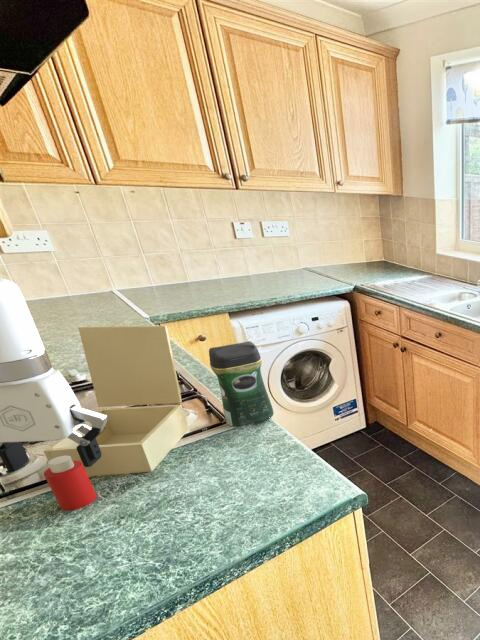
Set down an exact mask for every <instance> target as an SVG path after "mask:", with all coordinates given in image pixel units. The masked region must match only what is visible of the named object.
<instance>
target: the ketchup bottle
mask: <svg viewBox="0 0 480 640" xmlns="http://www.w3.org/2000/svg"><path fill="white" fill-rule="evenodd" d="M47 465H48V468H47V469H46V470H45V471H43V477H44V479H45V480H46V482H47V484H48V486H49V488H50V490H51V492H52V494H53V496H54V497H55V500H56V502H57V504H58V506H59V508H60V509H61V510H62V511H64V512H65V511H66V512H67V511H76V510H78V509H82V508H84V507H87V506H89V505H90V504H92V503H93V502H94V501H95V500H96V499H97V498H98V495H97V493H96V490H95V487H94V486H93V484H92V482H91V480H90V476H89V477H88V475H87V473H86V471H85V469H84V466H83V464H82V462H80V461H76V460H73V461H72V459H71V457H70V456H60V457H56V458H54V459H52V460H50V461H47Z"/></svg>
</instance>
